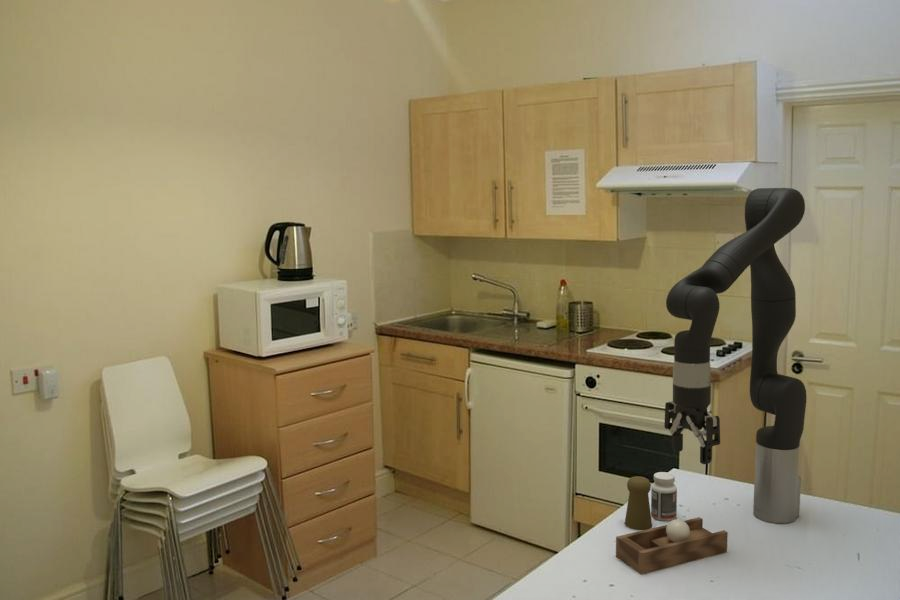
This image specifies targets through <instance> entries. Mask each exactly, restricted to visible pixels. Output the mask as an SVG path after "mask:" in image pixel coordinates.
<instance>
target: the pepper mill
mask: <svg viewBox="0 0 900 600" xmlns="http://www.w3.org/2000/svg"><path fill="white" fill-rule="evenodd" d="M626 486H627V490H628V492H629V493H628V501H627V505H626V506H627V507H626V512H625V518H624V519H625V521H624V525H625V527H626V528H628V529H630V530H634V531H643V530H647V529H651V528H652V526H653V523H652V515H651V504H650V497H649V493H650V492H651V488H652V484H651V481H650V479H648V477H647V478H646V477H644V476H638V475H636V476H632V477H630V478H628V480H627V483H626Z"/></svg>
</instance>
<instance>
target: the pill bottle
mask: <svg viewBox="0 0 900 600" xmlns="http://www.w3.org/2000/svg"><path fill="white" fill-rule="evenodd" d="M675 477H676V476H675V475H674V474H673V473H671V472H668V471H667V472H665V471H659V472H655V473H654V474H653V481H654V482H653V483H652V484H651V489H650V492H651V493H650V494H651V495H650V496H651V498H650V499H651V501H650V502H651V504H650V513H651V518H653V519H655V520H658V521H662V522H667V521H668V522H670V521H672V520H674V519H677V518H676V517H677V515H678V514H677V512H678V511H677V507H678V504H677V502H678V501H677V500H678V499H677V498H678V495H677V494H678V487H677V485H676V484H674V483H675V482H676V478H675Z"/></svg>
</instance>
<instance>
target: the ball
mask: <svg viewBox="0 0 900 600" xmlns="http://www.w3.org/2000/svg"><path fill="white" fill-rule="evenodd" d="M684 521H685V520H682V519H679V518H675V519H673V520H670V521H668V523H667V524H666V525H667V527H666V534H667V536H668V538H669V539H670V540H671V541H673V542H679V541H683V540H687V539H688V538H689V535H690V529H689V526H688V525H687V524H686V523H685V522H684Z"/></svg>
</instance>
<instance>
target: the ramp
mask: <svg viewBox="0 0 900 600" xmlns="http://www.w3.org/2000/svg"><path fill="white" fill-rule="evenodd" d="M683 521H684V522H685V523H686V524H687V525H688V526H689V529H690V535H689V538H688V539H687V540H683V541H679V542H673V541H671V540H670V539H669V538H668V536H667V534H666V527H667V525H668V524H664V525H660V526H656V527H653V528H652V527H651V528H650V529H647V530H637V531H635V532H630V533H627V534H623V535H617V536H616V537H615V558H617V559H618V560H620V561H621V562H623V563H624V564H625V565H627V566H629V567H630V568H631V569H632V570H634V571H636V572H637V573H639V574H640V575H645V574H648V573H653V572H656V571H659V570H664V569H668V568H671V567H675V566H679V565H683V564H687V563H691V562H695V561H698V560H702V559H705V558H709V557H712V556H713V557H715V556H717V555H720V554H725V553H727V552H728V534H729V532H728V531H726V530H720V531H716V532H711V531H709V530H708V529H706V528H704V527H703V523H704V522H703V521H704V519H703V518H702V517H694V518H691V519H687V520H686V519H685V520H683Z"/></svg>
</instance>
